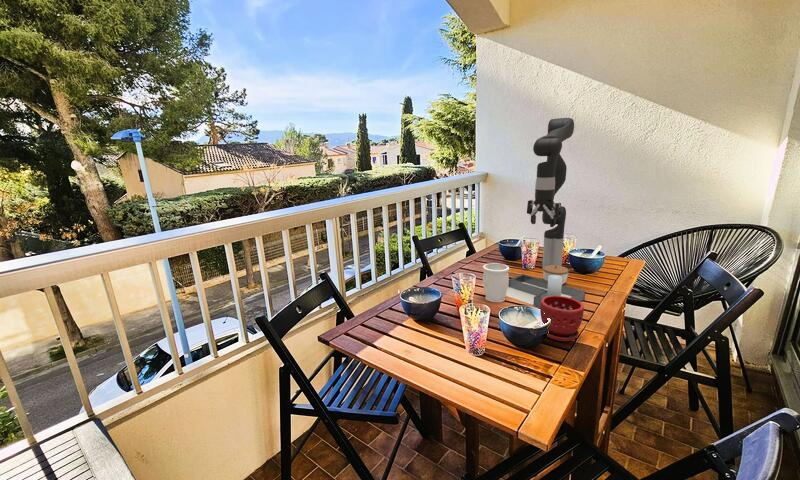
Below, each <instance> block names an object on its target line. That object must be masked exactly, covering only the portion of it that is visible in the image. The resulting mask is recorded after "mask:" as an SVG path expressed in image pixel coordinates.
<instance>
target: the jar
mask: <svg viewBox="0 0 800 480" xmlns="http://www.w3.org/2000/svg"><path fill="white" fill-rule="evenodd" d="M482 269H483V270H484V271H483V272H482V274H483V275H482V285H483V291H484V295H485V297H484V298H485V299H484V300H486V301H488V302H491V303H503V302H504V301H506V298H505V297H506V293H507V289H508V287H509V279H510V275H509V271H510V267H509V265H506V264H504V263H499V262H498V263H496V262H494V263H493V262H492V263H486V264H483V266H482Z"/></svg>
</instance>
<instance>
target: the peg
mask: <svg viewBox="0 0 800 480" xmlns="http://www.w3.org/2000/svg"><path fill="white" fill-rule="evenodd" d="M562 285H563V284H562V277H561V276H559V275H549V276H548V290H547V296H561V288H562ZM555 303H557V302H555Z"/></svg>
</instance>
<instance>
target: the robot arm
mask: <svg viewBox="0 0 800 480" xmlns="http://www.w3.org/2000/svg"><path fill="white" fill-rule="evenodd" d="M574 132H575V120H574V119H573V118H571V117H559V118H551V119H550V120H549V121H548V123H547V134H546V135H543V136H540V137H539V138H537V139H536V140H535V142H534V144H533V149H532V150H533V154H534V155H535V156H537V157H546V161H542V162H539V163H538V164H537V167H536V178H535V179H536V180H535V188H534V200H533V199H530V200H528V201H527V205H526V206H527V207H526V214H527V215H529V216H530V223H531V225H535V224H536V221H537V214H538V213H539V212H540V213H541V212H542V214H541V215H542V216H541V221H542V224H545V225H549V227H550V228H551V229H547V230H545V231H544V232H543V233H544V235H543V245H542V246H543V250H542V263H541V264H542V265H541V268H542V269H543V267H544V266H548V265H558V266H562V264H563V255H564V254H563V253H564V252H563V251H564V250H563V249H564V237H565V226H566V225H565V224H566V220H567V219H566V218H567V209H566V207H565V206H562V202H554V199H555V196H556V195H557V193H558V192H559V190H560V189H561V188H562V187H563V185H564V184H565V182H566V180H567V179H566V177H567V164H566V161H565V160H564V159H563V157H562V155H561V151H562V148H563V142H564V141H566V140H568V139H569V138H571V137H572V136H573V135H574ZM534 206H535V207H534Z"/></svg>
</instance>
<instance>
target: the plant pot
mask: <svg viewBox="0 0 800 480" xmlns="http://www.w3.org/2000/svg"><path fill="white" fill-rule="evenodd" d="M555 302H557V304H555ZM550 304H552V307H551V306H550ZM562 304H565V306H562ZM569 306H572V307H571V308H569ZM555 307H559V308H560V309H557V308H555ZM539 308H540V309H539V311H540V312H539V313H540V319H541V322H543V323H544V324H545V323H547V322H548V320H547V318H550V319H551V324H550V326H549V333H548V335H547V336H546V337H548V338H550V339H552V340H555V341H557V342H570V341H574V340H576V339H577V338H578V336H579V331H578V330H579V329H580V327H581V325H582V322H583V317H584V310H585V306H584V304H583V303H582V301H581V302H579V301H577V300H575V299H572V298H568V297H563V296H547V297H544V298H543V299H542V300H541V307H539ZM564 308H565V309H567V310H563V309H564ZM544 313H545V314H544ZM543 323H542V324H543Z"/></svg>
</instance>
